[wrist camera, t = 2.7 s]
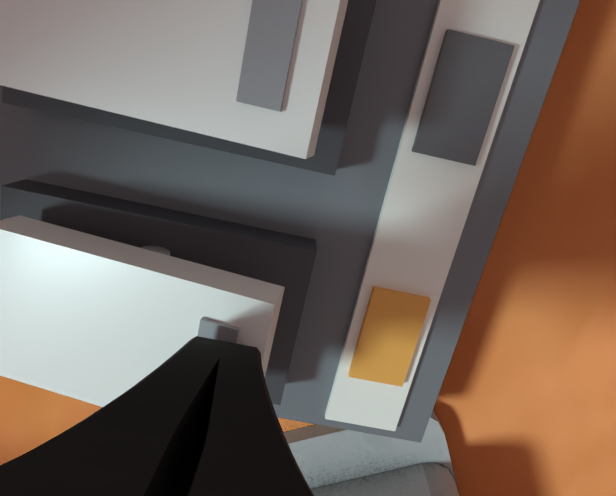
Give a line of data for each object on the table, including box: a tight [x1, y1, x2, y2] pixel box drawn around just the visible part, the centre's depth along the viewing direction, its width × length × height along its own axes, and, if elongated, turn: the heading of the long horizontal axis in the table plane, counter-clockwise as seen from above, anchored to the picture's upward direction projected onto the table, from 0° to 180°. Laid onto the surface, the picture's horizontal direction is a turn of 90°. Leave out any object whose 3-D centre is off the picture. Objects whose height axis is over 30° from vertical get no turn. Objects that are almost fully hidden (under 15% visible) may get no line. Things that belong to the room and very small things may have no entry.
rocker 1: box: [0, 0, 348, 159], centre depth 8 cm, size 6×4×1 cm, turn 78°
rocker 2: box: [0, 215, 285, 407], centre depth 10 cm, size 6×4×1 cm, turn 78°
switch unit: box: [0, 0, 580, 443], centre depth 11 cm, size 17×20×4 cm
